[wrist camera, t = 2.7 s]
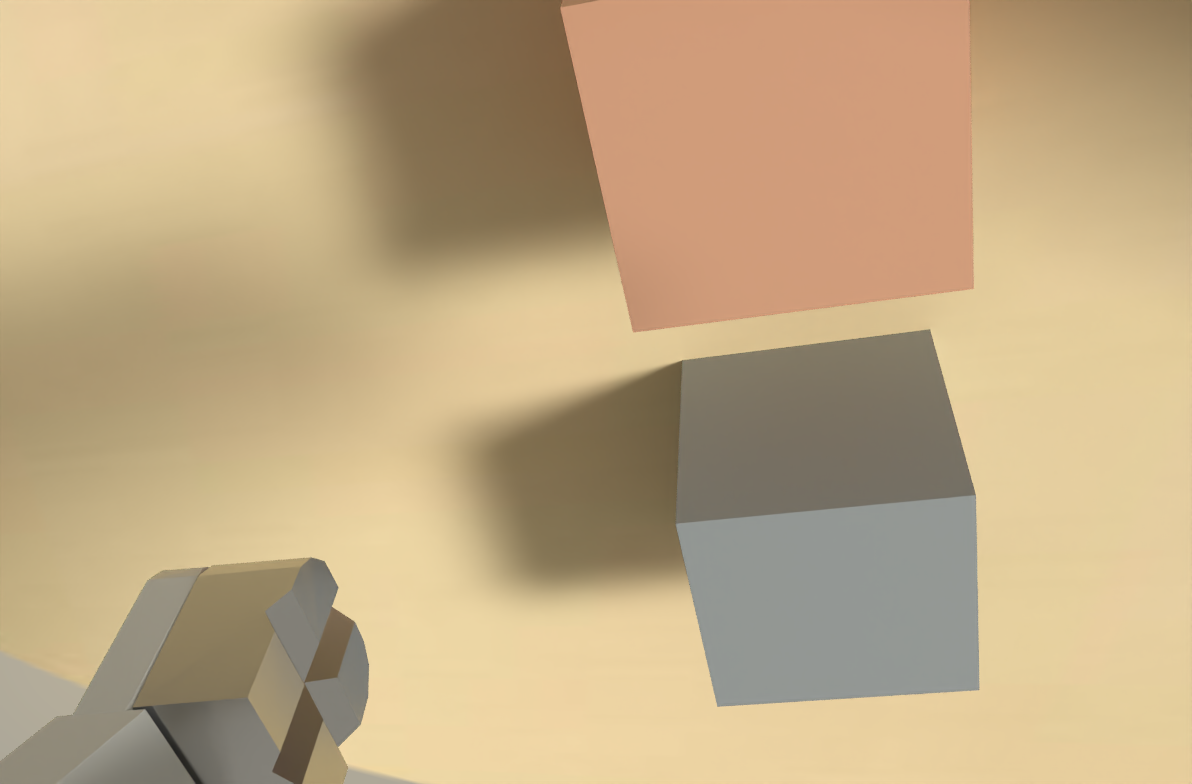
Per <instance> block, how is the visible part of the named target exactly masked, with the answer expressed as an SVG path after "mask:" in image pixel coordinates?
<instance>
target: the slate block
mask: <svg viewBox="0 0 1192 784" xmlns="http://www.w3.org/2000/svg"><path fill="white" fill-rule="evenodd" d="M676 528H677V532H678V537H679V541H680V545H681V550H682V554H683V558H684V563H685V567H686V571H687V576H688V580H689V585H690V589H691V593H692V598H693V602H694V606H695V611H696V615H697V619H698V624H699V628H700V632H701V637H702V641H703V646H704V650H705V654H706V659H707V663H708V667H709V672H710V676H711V680H712V685H713V689H714V693H715V698H716V702H717V707H719V706H735V705H751V704H767V703H782V702H798V701H814V700H830V699H846V698H861V697H877V696H893V695H909V694H924V693H940V692H956V691H972V690H979V645H978V589H977V533H976V494H975V490H974V487H973V483H972V480H971V476H970V472H969V469H968V465H967V462H966V458H965V454H964V451H963V447H962V443H961V440H960V436H959V433H958V429H957V425H956V422H955V418H954V415H953V411H952V407H951V404H950V400H949V397H948V393H947V389H946V386H945V382H944V378H943V375H942V371H941V368H940V364H939V360H938V357H937V353H936V350H935V346H934V342H933V339H932V335H931V332H930V330H923V331H915V332H907V333H899V334H891V335H883V336H875V337H867V338H859V339H851V340H843V341H835V342H827V343H819V344H811V345H803V346H795V347H786V348H778V349H770V350H762V351H754V352H746V353H738V354H730V355H722V356H714V357H706V358H698V359H690V360H682V379H681V403H680V428H679V452H678V476H677V501H676Z"/></svg>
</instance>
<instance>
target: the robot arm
mask: <svg viewBox="0 0 1192 784" xmlns="http://www.w3.org/2000/svg"><path fill="white" fill-rule="evenodd" d="M337 590H338V586H337V584H336V582H335V580H334V578H333V576H332V574H331V573H330V571H329V569H328V567H327V565H326V563H325V561H322V560H318V559H315V558H299V559H287V560H274V561H262V562H250V563H237V564H225V565H213V566H211V567H204V568H190V569H177V570H164V571H161V572H159V573H158V574H156V575H155V576H153V577H152V578H150V579H149V580H147V582H146V584H145V585H144V587H143V589H142V591H141V593H140V594H139V596H138V598H137V600H136V602H135V603H134V605H133V607H132V609H131V611H130V612H129V614H128V616H127V618H126V620H125V621H124V623H123V625H122V627H121V629H120V630H119V632H118V634H117V636H116V638H115V639H114V641H113V643H112V645H111V647H110V648H109V650H108V652H107V654H106V656H105V657H104V659H103V661H102V663H101V665H100V666H99V668H98V670H97V672H96V674H95V676H94V677H93V679H92V681H91V683H90V685H89V686H88V688H87V690H86V692H85V694H84V696H83V697H82V699H81V701H80V703H79V704H78V706H77V708H76V710H75V712H74V713H73V715H67V716H57V717H55V718H54V719H53V720H52V721H50V722H49V723H48V724H47V725H45V726H44V727H43V728H42V729H41V730H39V731H38V732H37V733H35V734H34V735H33V736H31V737H30V738H29V739H28V740H26V741H25V742H24V743H23V744H22V745H20V746H19V747H18V748H16V749H15V750H14V751H13V752H11V753H10V754H9V755H8V756H6V757H5V758H4V759H2V760H1V761H0V784H343V782H344V779H345V776H346V772H347V769H348V766H347V764H346V762H345V760H344V758H343V756H342V754H341V752H340V750H339V748H338V747H339V746H340V745H341V744H342V743H343V742H344V741H345V740H346V739H347V738H348V737H349V736H350V735H351V734H352V733H353V732H354V731H355V730H356V729H357V728H358V727H359V726H360V725H361V721H362V718H363V714H364V710H365V706H366V703H367V699H368V679H369V663H368V659H367V654H366V650H365V645H364V641H363V639H362V636H361V634H360V632H359V630H358V628H357V625H356V623H355V622H354V621H353V620H351V619H350V618H348V617H347V616H345V615H344V614H342V613H340V612H339V611H337V610H336V609H334V608H333V607H332V605H333V602H334V599H335V596H336V593H337Z"/></svg>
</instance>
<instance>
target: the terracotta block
mask: <svg viewBox="0 0 1192 784" xmlns="http://www.w3.org/2000/svg"><path fill="white" fill-rule="evenodd" d="M560 9H561V14H562V18H563V23H564V27H565V32H566V36H567V41H568V45H569V49H570V54H571V58H572V63H573V67H574V72H575V76H576V80H577V85H578V89H579V94H580V98H581V103H582V107H583V112H584V116H585V120H586V125H587V129H588V134H589V138H590V143H591V147H592V152H593V156H594V160H595V165H596V169H597V174H598V178H599V183H600V187H601V192H602V196H603V200H604V205H605V209H606V214H607V218H608V223H609V227H610V231H611V236H612V240H613V245H614V249H615V254H616V258H617V263H618V267H619V271H620V276H621V280H622V285H623V289H624V294H625V298H626V303H627V307H628V311H629V316H630V320H631V325H632V329H633V332H640V331H648V330H656V329H664V328H671V327H679V326H687V325H695V324H703V323H710V322H718V321H726V320H734V319H742V318H749V317H757V316H765V315H773V314H781V313H788V312H796V311H804V310H812V309H819V308H827V307H835V306H843V305H851V304H858V303H866V302H874V301H882V300H890V299H897V298H905V297H913V296H921V295H929V294H936V293H944V292H952V291H960V290H968V289H974V277H973V207H972V137H971V67H970V0H563V1H562V3H561V6H560Z"/></svg>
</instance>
